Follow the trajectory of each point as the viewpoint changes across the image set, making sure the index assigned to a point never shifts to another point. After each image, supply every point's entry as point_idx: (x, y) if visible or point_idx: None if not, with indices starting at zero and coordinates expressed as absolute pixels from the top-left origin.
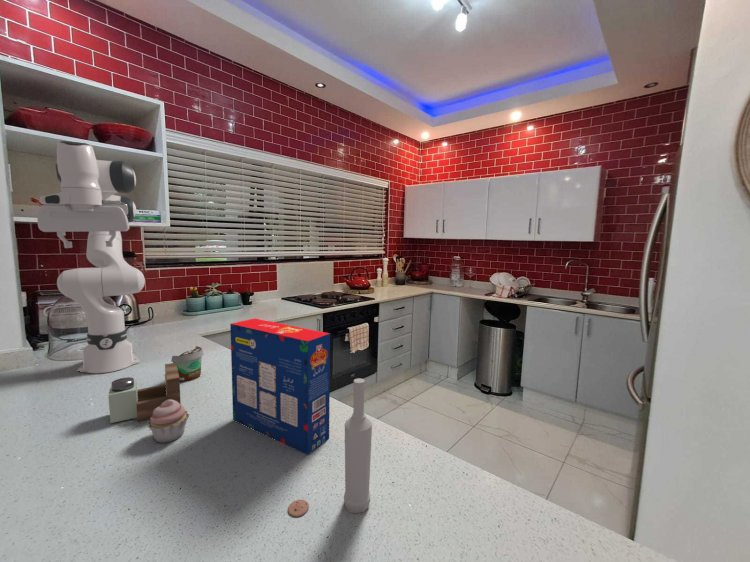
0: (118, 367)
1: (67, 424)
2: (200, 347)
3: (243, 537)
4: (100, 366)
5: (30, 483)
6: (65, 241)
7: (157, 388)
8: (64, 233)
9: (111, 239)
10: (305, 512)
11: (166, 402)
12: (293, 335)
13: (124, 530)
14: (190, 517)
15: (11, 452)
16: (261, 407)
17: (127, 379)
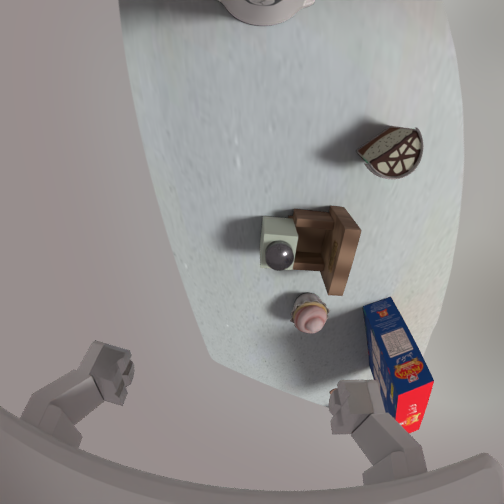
0: (277, 21)
1: (214, 215)
2: (422, 146)
3: (307, 393)
4: (247, 16)
5: (205, 309)
6: (99, 400)
7: (321, 228)
8: (67, 436)
9: (367, 442)
10: None
11: (311, 331)
12: None
13: (261, 371)
14: (291, 378)
15: (175, 250)
16: (373, 354)
17: (286, 255)
